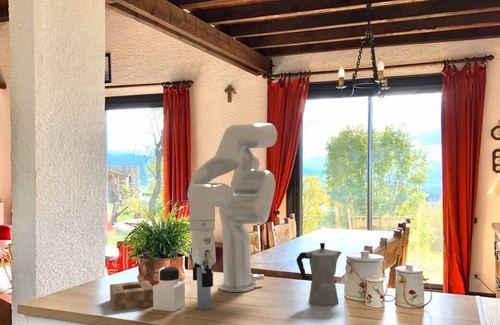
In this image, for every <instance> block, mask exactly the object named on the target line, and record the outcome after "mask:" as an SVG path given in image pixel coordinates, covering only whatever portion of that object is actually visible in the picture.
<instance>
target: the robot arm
mask: <svg viewBox="0 0 500 325" xmlns="http://www.w3.org/2000/svg"><path fill="white" fill-rule="evenodd" d="M277 139H278V130H277V128H276V126H275V125H274V124H273V123H269V122H267V123H242V124H232V125H230V126H228V127H226V129H225V131H224V133H223V136H222V138H221V140H220V142H219V145H218V148H217V150H216V152H215V155H214V156H213V157H210V159H208V160H207V161H206V162H204V164H202V165H201V166H200V167H199V168H198V169H197V170H196V171H195V172H194V174H193V176H192V177H191V178H192V179H191V181H190V183H189V186H188V189H187V201H188V203H189V231H190V232H191V234H192V235H191V259H192V280H193V281H196V282H197V267H200V266H202V270H203V273H202V287H213V286H214V265H215V264H216V262H217V260H216V258H217V256H216V242H215V240H216V239H215V233H214V231H215V230H216V222H215V221H216V220H215V219H216V214H215V213H216V211H215V210H216V209H215V208H218V210H219V211H218V212H219V217H220V222H221V229H222V230H221V231H222V266H223V267H222V268H223V282H220V283H219V284H218V285H219V286H218V287H219V290H221V291H223V292H228V293H229V292H230V293H245V292H248V291H252V290H254V289H256V287H257V285H256V281H263V280H264V281H265V274H257V273H256V274H254V273H252V264H251V263H252V262H251V261H252V259H251V258H252V257H251V255H252V254H251V253H252V252H251V235H250V232H249V231H248V229H247V227H246V226H245V225H263V224H266V223H267V221H268V220H269V217H270V214H271V208H272V204H273V200H274V195H275V190H276V179H275V175H274V174H273V173H272V172H271V171H270V170H265V169H259V168H260V163H261V162H260V159H259V157H258V156H257V155H256V153H255V151H253V150H252V149H262V148H263V149H264V148H271V147H273V146H274V145H276V142H277V141H278V140H277ZM233 171H234V172H233ZM231 172H233V174H232V176H231V177H232V178H231V182H230V186H229V184H226V183H222V182H220V183H219V182H212V180H215V179H217V178H219V177H221V176H224V175H226V174H229V173H231ZM205 266H206V268H205Z"/></svg>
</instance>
